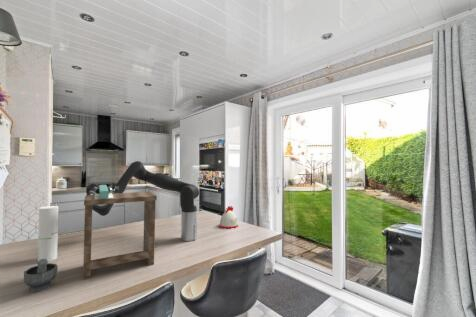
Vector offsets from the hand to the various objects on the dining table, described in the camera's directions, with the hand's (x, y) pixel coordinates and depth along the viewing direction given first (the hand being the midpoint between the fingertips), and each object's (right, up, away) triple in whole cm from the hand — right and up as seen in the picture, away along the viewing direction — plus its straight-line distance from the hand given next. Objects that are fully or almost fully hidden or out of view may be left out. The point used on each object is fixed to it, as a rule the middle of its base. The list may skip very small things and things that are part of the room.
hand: (103, 184), depth 112 cm
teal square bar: (+4, -4, -7) cm, 9 cm away
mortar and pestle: (-7, -36, -27) cm, 46 cm away
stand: (+12, -36, -8) cm, 39 cm away
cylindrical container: (-25, -36, -3) cm, 44 cm away
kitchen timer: (+60, -38, +58) cm, 92 cm away
